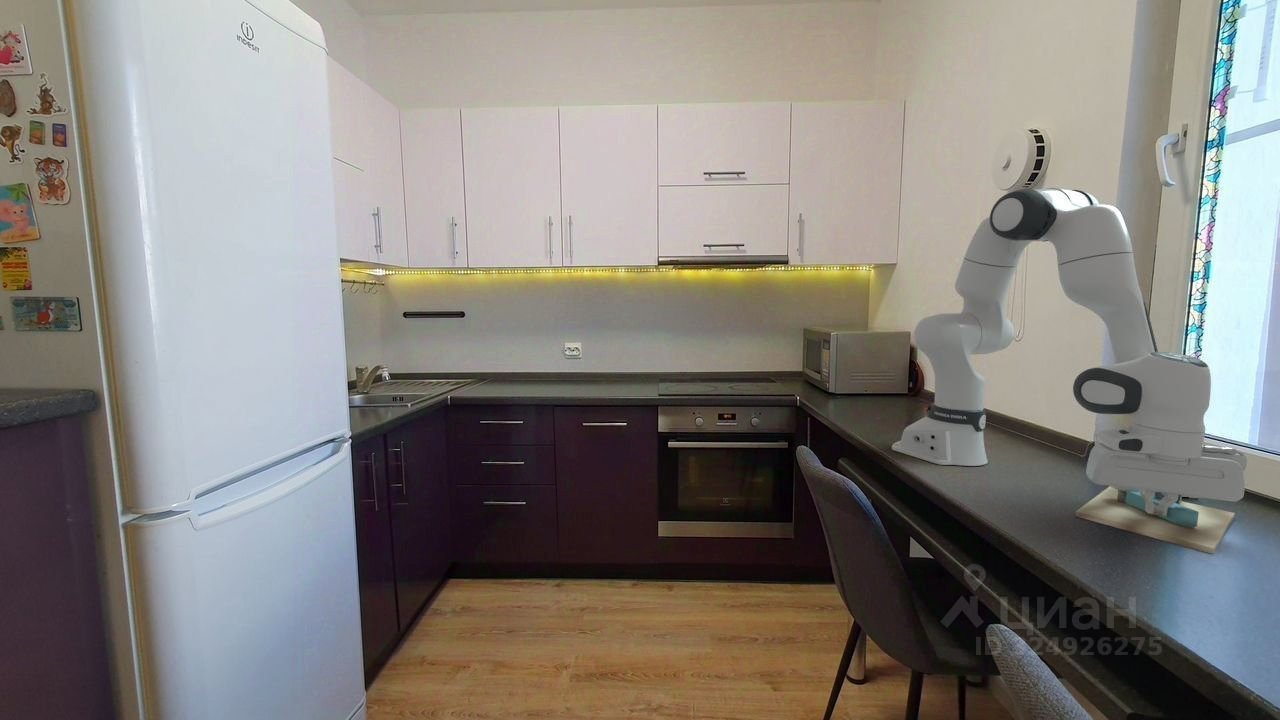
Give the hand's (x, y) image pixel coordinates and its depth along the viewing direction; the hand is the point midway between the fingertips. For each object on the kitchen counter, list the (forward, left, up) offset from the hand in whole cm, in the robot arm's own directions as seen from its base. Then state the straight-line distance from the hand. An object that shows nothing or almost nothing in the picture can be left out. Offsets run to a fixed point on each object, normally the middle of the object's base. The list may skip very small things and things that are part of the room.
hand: (1155, 513), depth 90 cm
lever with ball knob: (-1, +4, -1) cm, 5 cm away
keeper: (0, +10, -1) cm, 10 cm away
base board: (-1, +5, -2) cm, 6 cm away
